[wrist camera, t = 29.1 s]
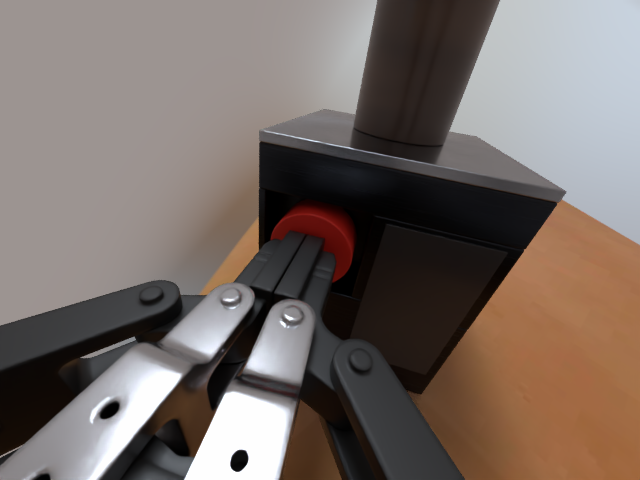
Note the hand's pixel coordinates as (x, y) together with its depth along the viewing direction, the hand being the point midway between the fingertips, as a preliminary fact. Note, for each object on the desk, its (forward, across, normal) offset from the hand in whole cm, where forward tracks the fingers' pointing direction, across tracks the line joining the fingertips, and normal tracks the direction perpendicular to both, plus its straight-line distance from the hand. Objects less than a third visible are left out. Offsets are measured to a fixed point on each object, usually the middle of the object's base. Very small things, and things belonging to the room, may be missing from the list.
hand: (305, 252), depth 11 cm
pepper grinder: (+5, -3, -4) cm, 7 cm away
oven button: (+1, 0, +2) cm, 2 cm away
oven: (+5, -3, +8) cm, 10 cm away
